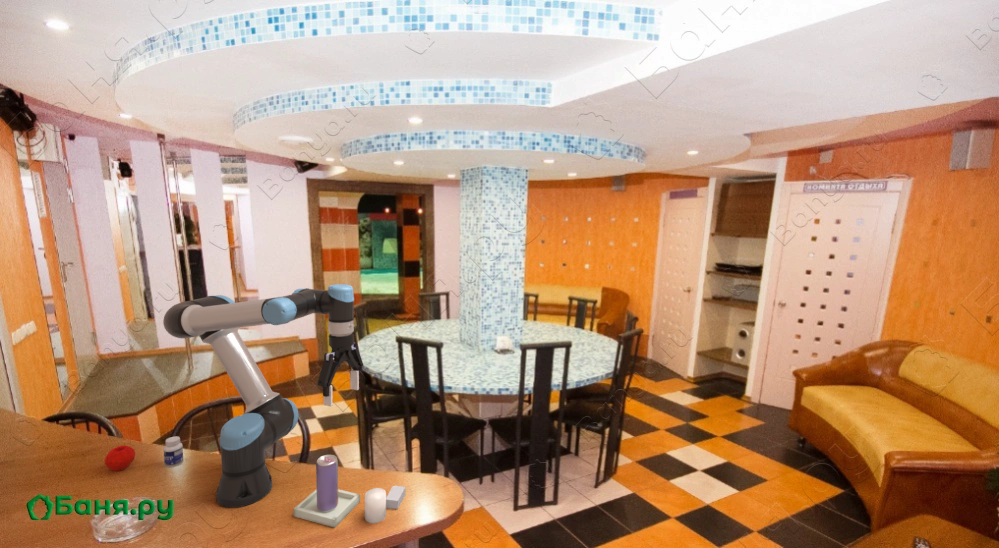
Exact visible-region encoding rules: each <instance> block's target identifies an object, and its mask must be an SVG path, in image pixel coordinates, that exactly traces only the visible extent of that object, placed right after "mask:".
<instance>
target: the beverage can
mask: <svg viewBox="0 0 999 548" xmlns="http://www.w3.org/2000/svg"><path fill="white" fill-rule="evenodd" d="M315 472H316V474H315V477H316V479H315V480H316V482H315V485H316V487H315V488H316V489H317V508H318V510H319V511H321V512H329V511H332V510H334V509H335V508H336V507H337V505H338V489H339V461H338V457H337V456H336V455H334V454H325V455H321V456H320V457H318V459H317V460H316V464H315Z"/></svg>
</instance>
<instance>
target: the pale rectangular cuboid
mask: <svg viewBox="0 0 999 548" xmlns="http://www.w3.org/2000/svg"><path fill="white" fill-rule="evenodd" d="M406 492H407V491H406V486H402V485H401V486H400V485H393V486H392V487H391V488H390V491H389V492H388V494H386V509H393V510H398V509H399V508H400V506H401V504H402V503H403V500H404V499H405V496H406Z"/></svg>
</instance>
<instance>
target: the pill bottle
mask: <svg viewBox="0 0 999 548" xmlns="http://www.w3.org/2000/svg"><path fill="white" fill-rule="evenodd" d="M163 460H164V466H165V467H166V468H172V467H173V468H174V467H177V466H180V465H181V464H182V463H183V462H184V446H183V443H182V442H181V438H180V436H178V435H177V436H176V435H175V436H172V437H168V438H166V439H165V446H164V447H163Z"/></svg>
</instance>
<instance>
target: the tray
mask: <svg viewBox="0 0 999 548" xmlns="http://www.w3.org/2000/svg"><path fill="white" fill-rule="evenodd" d="M360 502H361V494H359V493H356V492H352V491H351V492H350V491H347V490H342V489H339V488H338V505H337V507H336V508H335V509H334V510H332V511H329V512H321V511H319V510H318V508H317V488H316V489H315V490H314V491H312V493H311V492H310V494H309V495H308V496H306V497H305V499H303V500H302V501H301V502H300V503H298V504H297V505H296V506H295V507H294V508H293V517H295V518H299V519H302V520H305V521H310V522H313V523H316V524H320V525H324V526H325V527H326V526H327V527H331V528H334V529H335V528H337V526H338V525H339V524H340V523H341V522H342V521H343V520H344V519H345V518H346V517H347V516H348V515H349V513H351V512H352V511H353V509H354V508H356V507H357V506H358V504H359V503H360Z"/></svg>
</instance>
